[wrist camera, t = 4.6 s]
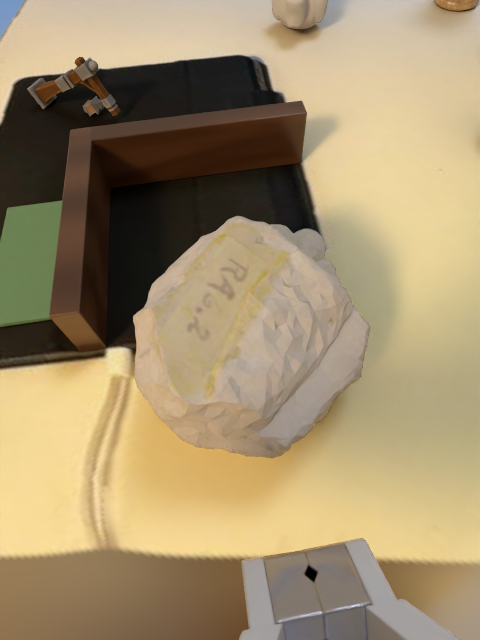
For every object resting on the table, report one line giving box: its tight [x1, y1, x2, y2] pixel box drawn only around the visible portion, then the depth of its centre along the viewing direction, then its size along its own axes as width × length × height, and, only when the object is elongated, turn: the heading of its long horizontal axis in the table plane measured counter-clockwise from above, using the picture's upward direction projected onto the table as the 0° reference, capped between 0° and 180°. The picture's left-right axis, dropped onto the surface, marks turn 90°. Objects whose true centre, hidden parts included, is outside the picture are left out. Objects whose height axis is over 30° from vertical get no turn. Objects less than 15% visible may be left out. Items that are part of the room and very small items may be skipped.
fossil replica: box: [133, 216, 370, 458], centre depth 18 cm, size 12×8×10 cm
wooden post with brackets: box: [28, 57, 120, 116], centre depth 33 cm, size 2×8×4 cm, turn 68°
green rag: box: [0, 201, 62, 327], centre depth 26 cm, size 10×6×1 cm, turn 8°
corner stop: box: [49, 101, 307, 352], centre depth 25 cm, size 15×16×4 cm
